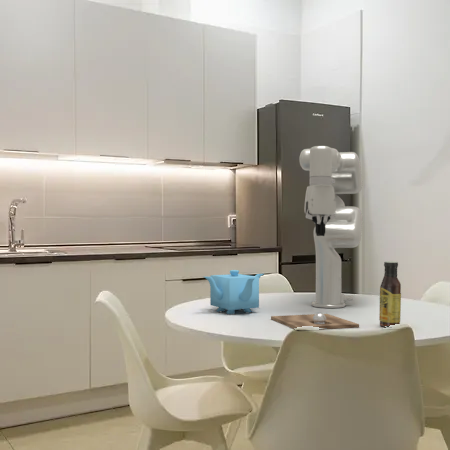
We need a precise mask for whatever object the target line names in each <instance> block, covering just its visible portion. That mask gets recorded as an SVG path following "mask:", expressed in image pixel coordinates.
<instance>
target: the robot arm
mask: <svg viewBox="0 0 450 450" xmlns="http://www.w3.org/2000/svg"><path fill="white" fill-rule="evenodd" d="M298 161H299V165H300V167H301V168H302V170H304V171H308V172H309V185H308V186H307V187H306V191H305V199H304V209H303V210H304V214H305V219H308V220H311V221H312V222H313V223H314V228H313V241H314V248H315V249H314V250H315V301H312V302H311V307H315V308H321V309H322V308H325V309H340V308H345V307H346V301H349V302H350V301H354V296H353V295H345V293H342V258H341V255H339V253H338V252H337V251H336V249H338V248H339V249H345V248H346V249H347V248H349V249H353V248H356V247H358V246H359V245H360V244H361V239H362V231H363V230H362V229H363V213H362V210H361V209H360V208H359V207H358V206H354V205H353V206H349V205H347V206H346V205H345V202H344V201H343V199H342V198H341V197H340V196H338V195H344V194H345V195H346V194H347V195H350V194H351V195H354V194H359V193H360V192H361V191H362V188H363V176H362V167H361V162H360V158H359V156H358V154H357V153H356V152H355V151H347V152H346V151H344V152H343V151H342V152H341V151H340V152H339V151H338V149H336V148H333V147H330V146H327V145H314V146H312V147H310V148H304V149H303V150H301V152H300V155H299V159H298Z"/></svg>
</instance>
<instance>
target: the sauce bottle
mask: <svg viewBox="0 0 450 450" xmlns="http://www.w3.org/2000/svg"><path fill="white" fill-rule="evenodd" d="M383 266H384V273H383V274H384V276H383V278H382V281H381V284H380V286H379V314H378V315H379V319H378V320H379V325H380V327H384V328H386V327H385V326H390V325H395V324H400V325H401V313H402V312H401V311H402V310H401V308H402V307H401V305H402V301H401V300H402V299H401V298H402V292H401V288H402V287H401V286H402V285H401V282H400V280H399V279H398V267H399V262H398V261H393V260H389V261H388V260H387V261H384V264H383Z"/></svg>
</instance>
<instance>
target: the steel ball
mask: <svg viewBox="0 0 450 450" xmlns="http://www.w3.org/2000/svg"><path fill="white" fill-rule="evenodd" d="M314 314H315V315H314V317H313V322H314V323H315V324H325V322H326V317H325V315H324V314H325V313H322V312H317V313H314Z"/></svg>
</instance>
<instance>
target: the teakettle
mask: <svg viewBox="0 0 450 450" xmlns="http://www.w3.org/2000/svg"><path fill="white" fill-rule="evenodd" d="M239 272H240V270H237V269H231V270H229V274H213V275H212V274H211V275H210V276H203V278H204V279H206V280H207V281H208V283H209V287H210V291H209V293H210V295H209V296H210V298H209V299H210V302H209V303H210V306H213V307H217V310H216V312H219V311H223V312H225V311H226V310H227V311H226V313H227V314H226V315H235V314H236V311H241V310H240V309H242V310H243V312H244V313H245V312H252V313H253V310H252V309H259V308H260V278H261V277H262V276H264V275H265V273H257V274H255V275H248V274H241V273H239Z"/></svg>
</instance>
